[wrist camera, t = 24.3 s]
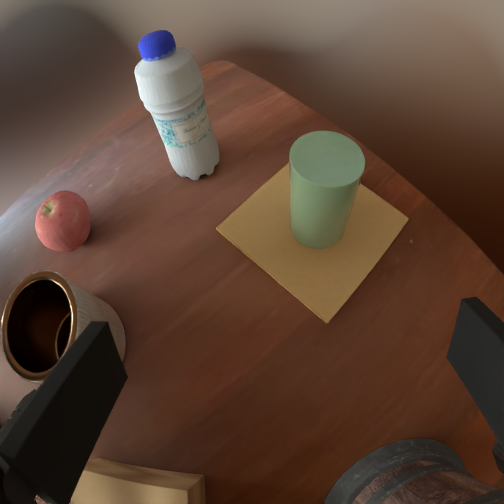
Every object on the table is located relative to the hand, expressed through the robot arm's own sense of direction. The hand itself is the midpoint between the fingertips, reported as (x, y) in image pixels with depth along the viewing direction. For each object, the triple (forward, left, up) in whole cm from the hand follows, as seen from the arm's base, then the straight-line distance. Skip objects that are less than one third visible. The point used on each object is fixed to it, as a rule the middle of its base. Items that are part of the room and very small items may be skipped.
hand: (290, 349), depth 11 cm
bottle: (-25, +12, -20) cm, 35 cm away
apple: (-30, -6, -20) cm, 37 cm away
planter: (-17, -13, -20) cm, 30 cm away
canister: (-8, +15, -20) cm, 26 cm away
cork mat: (-8, +15, -20) cm, 26 cm away
